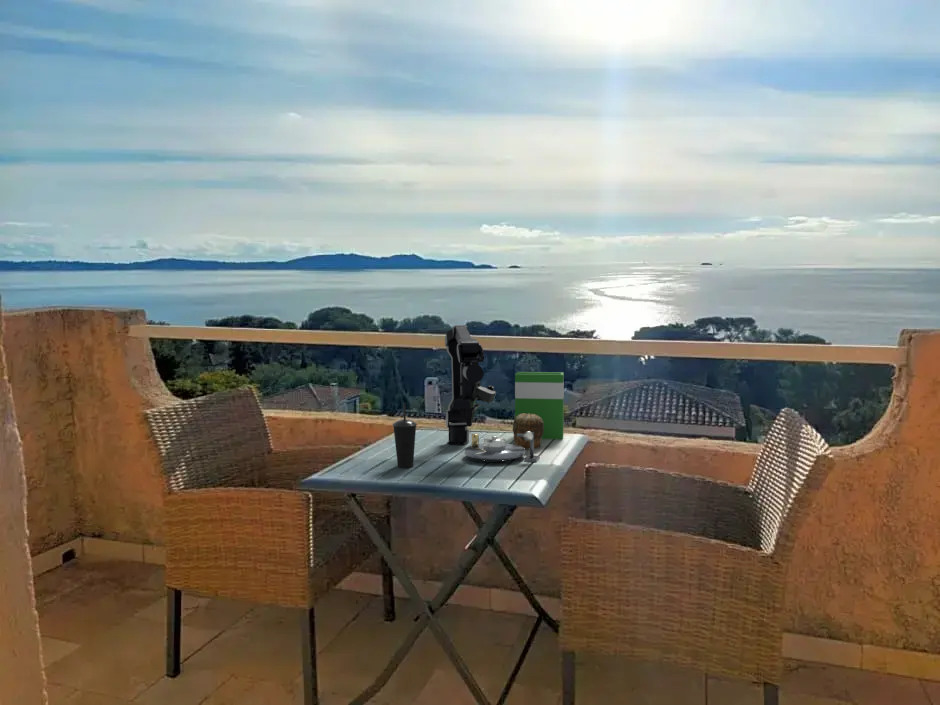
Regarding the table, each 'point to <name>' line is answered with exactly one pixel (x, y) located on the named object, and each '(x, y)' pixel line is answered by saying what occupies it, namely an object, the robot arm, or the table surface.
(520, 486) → the table surface
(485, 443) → the cover
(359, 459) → the table surface
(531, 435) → the dial stand
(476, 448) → the platter
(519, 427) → the shell
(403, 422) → the drinking cup
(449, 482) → the table surface
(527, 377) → the hardback book
